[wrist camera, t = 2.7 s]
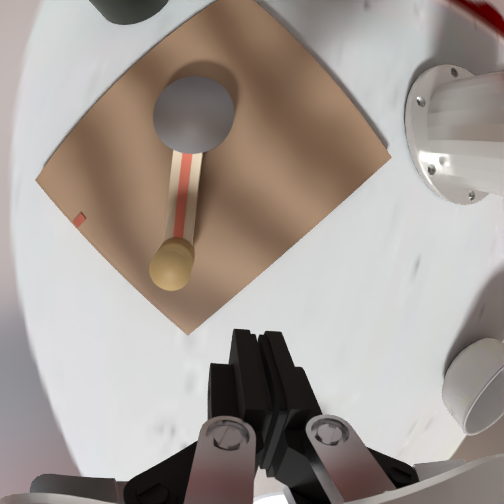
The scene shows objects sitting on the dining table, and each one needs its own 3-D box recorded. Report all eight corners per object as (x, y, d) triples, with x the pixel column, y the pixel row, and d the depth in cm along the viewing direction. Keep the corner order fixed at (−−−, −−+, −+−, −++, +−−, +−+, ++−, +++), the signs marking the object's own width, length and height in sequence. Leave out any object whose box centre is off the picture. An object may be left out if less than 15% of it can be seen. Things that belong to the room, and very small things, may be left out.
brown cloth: (237, -7, 17) (238, -14, 16) (385, 156, 21) (392, 157, 20) (41, 178, 19) (34, 180, 18) (188, 328, 24) (187, 336, 23)
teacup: (416, 398, 30) (447, 441, 22) (461, 320, 27) (506, 358, 20) (476, 394, 32) (504, 426, 25) (513, 331, 29) (548, 359, 22)
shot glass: (234, 471, 31) (238, 516, 24) (245, 440, 29) (251, 492, 22) (287, 471, 32) (297, 514, 25) (304, 442, 30) (318, 489, 23)
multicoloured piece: (163, 78, 17) (150, 61, 13) (238, 85, 18) (242, 68, 14) (143, 262, 21) (127, 285, 17) (213, 270, 21) (211, 295, 18)
